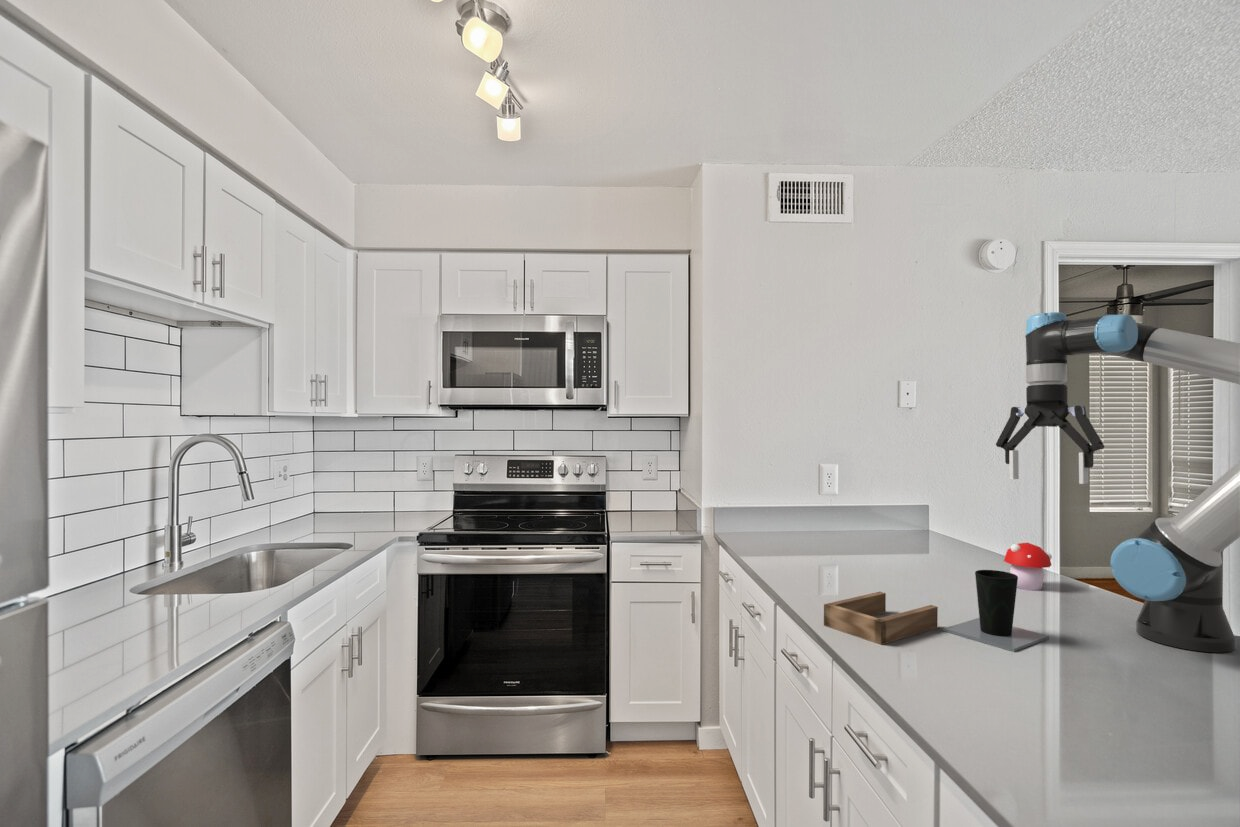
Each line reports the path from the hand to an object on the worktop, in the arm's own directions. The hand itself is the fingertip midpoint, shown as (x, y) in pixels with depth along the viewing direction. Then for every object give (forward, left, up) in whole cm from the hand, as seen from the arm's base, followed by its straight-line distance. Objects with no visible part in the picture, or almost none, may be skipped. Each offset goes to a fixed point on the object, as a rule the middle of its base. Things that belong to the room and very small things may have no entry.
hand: (1047, 481), depth 141 cm
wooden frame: (+18, +33, -31) cm, 49 cm away
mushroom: (+18, -30, -32) cm, 47 cm away
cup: (+2, +17, -31) cm, 35 cm away
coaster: (+2, +17, -31) cm, 36 cm away
